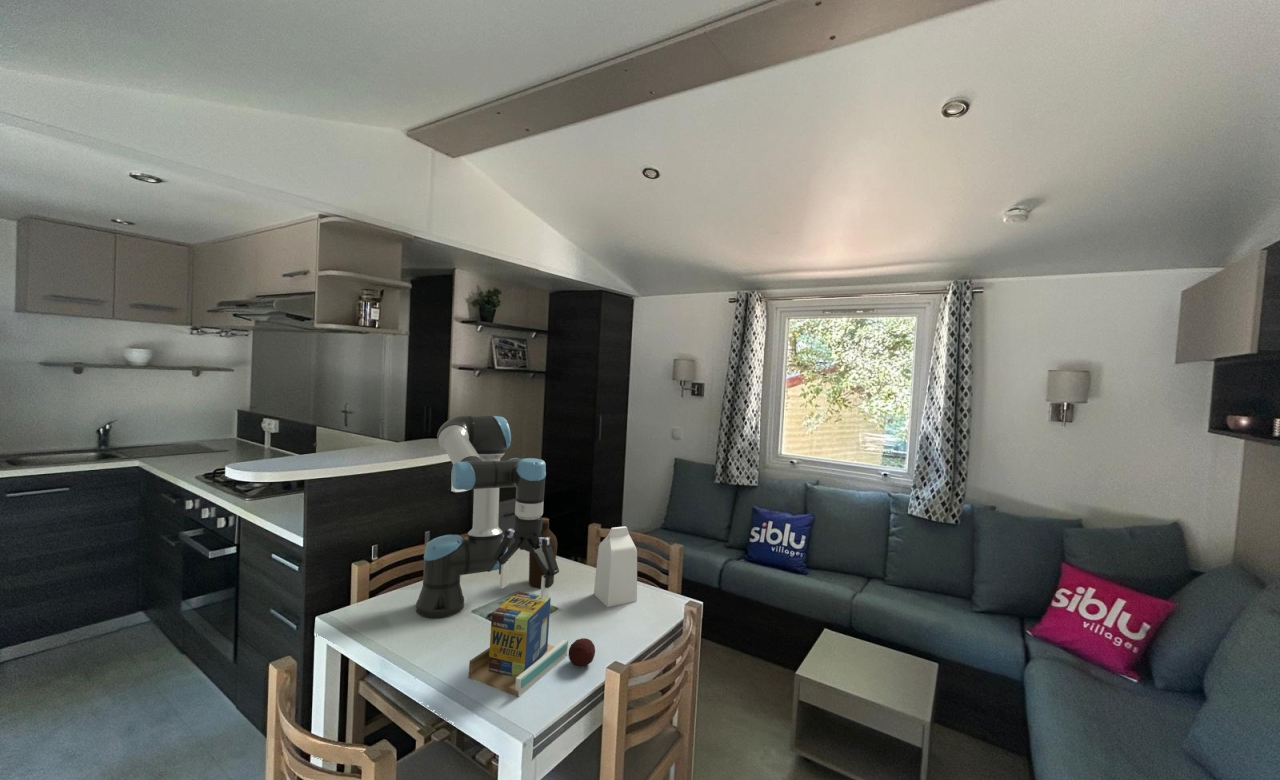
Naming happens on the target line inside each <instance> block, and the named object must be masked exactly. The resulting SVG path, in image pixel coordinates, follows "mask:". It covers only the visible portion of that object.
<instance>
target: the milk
mask: <svg viewBox="0 0 1280 780" xmlns="http://www.w3.org/2000/svg"><path fill="white" fill-rule="evenodd" d="M593 595H594V596H595V597H596V599H598V600H599V601H600V602H601V603H603V605H605V606H606V607H607V608H609V607H614V606H620V605H625V604H629V603H630V604H631V603H635V602H636V603H637V602H638V550H637V546H636V545H635V542H634V541H633V539H632V537H631V536H630V532H629V530H628V527H627V526H617V527H616V526H615V527H611V528H610V530H609V532H608V534H607V536H606V537H605V538H604V539H603V540H602V541H601V542H600V543H599V545H598V550H597V562H596V569H595V579H594V589H593Z"/></svg>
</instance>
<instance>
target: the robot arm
mask: <svg viewBox="0 0 1280 780" xmlns="http://www.w3.org/2000/svg"><path fill="white" fill-rule="evenodd" d="M436 437H437V438H436V440H437V444H438V446H439V448H440V449H441V450H442V451H443V452H445V453H446V454H447V456H448V458H449V459H450V461H451V464H452V468H451V474H450V475H451V483H452V484H451V485H452V487H453V489H455V490H456V491H457V490H458V491H459V490H464V491H470V490H473V507H472V509H473V510H472V512H473V513H472V528H471V529H470V530H469V531H468V532H467V538H463V537H462V535H460V534H445V535H441V536H437V537H435V538H433V539H431V540H430V541H428V542H427V544H426V545H425V548H424V555H423V560H424V561H423V578H422V587H421V591H420V593H419V596H418V598H417V601H416V604H415V612H416V614H417V615H418V616H420V617H424V618H428V619H429V618H430V619H439V618H447V617H449V616H451V617H452V616H454V615H456V614H458V613H460V612H461V611H462V610H463V609H464V607H465V597H464V595H463V589H462V586H461V577H462V576H465V575H472V574H479V573H486V572H487V573H489V572H493V571H497V570H498V575H500V579H499V580H500V581H499V589H504V588H505V587H508V586H509V583H510V582H509V581H510V566H511V565H510V564H511V563H510V562H509V560H510V558H511V557H512V556H513V555H514V554H515V553H516V552H517V551H518V550H520V551H521V550H522V551H525V552H528V553H529V551H530V552H531V554H532V555H534V556H535V558H536V560H537V562H538V564H539V566H540V568H541V569H542V571H543V573H544V575H543V576H542V581H541V588H540V600H541V601H543V600H545V599H546V598H548V597H549V594H550V588H551V587H552V586H553V585H552V576H554V577H555V576H556V575H557V574H559V573H560V569H559V566H558V563H557V560H556V559H557V558H556V559H555V556H554V553H553V550H552V547H551V538H550V537H547V538H543V537H541V534H540V533H541V530H542V519H543V518H544V517H542V516H543V514H544V501H545V500H544V499H545V498H544V497H545V489H546V488H545V487H546V485H545V484H546V476H547V471H546V469H547V468H546V466H547V465H546V462H545V460H543V459H541V458H532V457H528V458H527V457H526V458H518V457H514V458H509V459H508V460H501V458H502V457H503V456H504V455H505V454H506V450H507V449H509V448H510V446H511V442H512V434H511V429H510V425H509V423H508V420H507V419H506V418H505V417H503V416H499V415H498V416H497V415H457V416H454V417H452V418H450V419H448V420H447V421H445V422H444V423H443V424H442V425H441V426H440V428H439V429H438V432H437V435H436ZM501 488H516V489H515V505H514V507H515V508H514V515H515V516H514V519H513V520H514V521H513V522H514V523H513V527H510V528H508V529H505V530H504V534H503V530H502V529H501V528H500V527H499V511H500V510H499V509H500V504H499V503H500V489H501ZM512 539H514V542H513V543H512V545H511V546H510V547H509V545H510V543H511V541H512ZM540 543H541V545H540ZM541 546H542V547H541ZM535 548H537V549H536V550H535ZM542 549H543V551H542Z"/></svg>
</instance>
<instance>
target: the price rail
mask: <svg viewBox="0 0 1280 780" xmlns="http://www.w3.org/2000/svg"><path fill="white" fill-rule="evenodd" d="M554 646H555V647H554V648H553V649H552V650H550V651H549V652H548V653H547V654H545V655H544V656H543V657H542V658H540V659H539V660H538V661H536V662H535V663H534V664H533V665H531V666H530V667H529V668H528V669H526V670H525V671H524V672H523V673H521V674H520V675H519V676H518V677H516V685H515V690H517V691H518V692H519V696H518V698H520V697H521V696H522V695H523V694H525V693H526V692H527V691H528V690H529V689H530V688H532V686H534V685H535V684H536V683H537V682H539V681H540V680H541V679H542V678H544V676H545V675H547V674H548V673H549V672H550V671H551V670H552V669H554V668H555V667H556V666H557V665H559V663H560V662H562V661H563V660H564V659H565V658H566V657H568V651H569V649H568V648H569V640H568V639H566V638H564V639H563V640H562V641H560V642H559V643H558V644H556V645H554ZM515 692H516V691H515ZM516 694H517V695H518V693H517V692H516ZM517 695H515V697H517Z"/></svg>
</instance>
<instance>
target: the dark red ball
mask: <svg viewBox="0 0 1280 780" xmlns="http://www.w3.org/2000/svg"><path fill="white" fill-rule="evenodd" d="M568 648H569V649H568V660H569V661H570V663H571V664H572V665H573V667H576V668H584V667H587V666H589V664H591V663H592V662H593V661H594V658H595V655H596V647H595V644H594V642H593V641H592V640H590V639H589V638H582V637H581V638H579V639H575V641H573V643H571V645H570V646H569V647H568Z"/></svg>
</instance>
